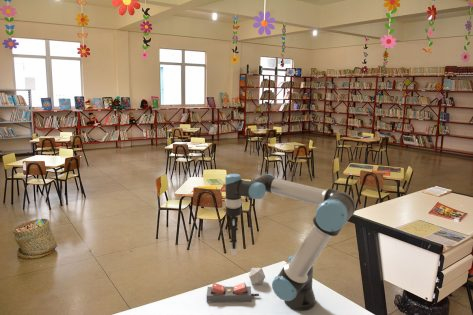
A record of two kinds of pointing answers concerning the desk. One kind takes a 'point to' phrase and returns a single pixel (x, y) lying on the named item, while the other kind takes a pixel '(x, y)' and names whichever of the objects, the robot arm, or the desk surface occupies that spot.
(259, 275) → the die
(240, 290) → the rocker
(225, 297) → the power strip
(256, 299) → the desk surface
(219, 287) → the rocker
